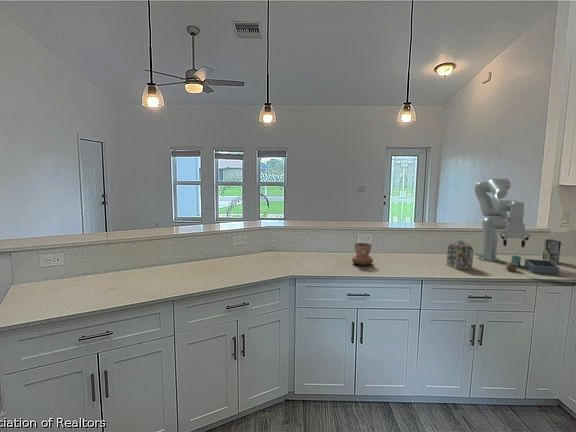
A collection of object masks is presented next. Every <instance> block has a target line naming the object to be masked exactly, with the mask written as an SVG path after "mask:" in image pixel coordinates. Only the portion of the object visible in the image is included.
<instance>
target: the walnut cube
mask: <svg viewBox="0 0 576 432" xmlns="http://www.w3.org/2000/svg"><path fill="white" fill-rule="evenodd" d="M505 267H506V268H505V270H506V271H507V272H508V273H509V272H511V273H517V272H518V268H517V264H516V263H511V261H510V262H509V261H507V262H506V266H505Z"/></svg>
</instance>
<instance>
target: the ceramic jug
mask: <svg viewBox="0 0 576 432" xmlns="http://www.w3.org/2000/svg"><path fill="white" fill-rule="evenodd" d="M372 247H373V245H372V244H369V243H365V242H355V243H354V250H355V251H354V252H355V253H356V254H355V255H354V256H352V258H351V261H352V263H354V264H355V265H357V264H358V266H369V265H372V264H373V262H374V259H373V258H372V257H371V255H370V253H371V250H372Z"/></svg>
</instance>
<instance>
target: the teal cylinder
mask: <svg viewBox="0 0 576 432" xmlns="http://www.w3.org/2000/svg"><path fill="white" fill-rule="evenodd" d="M521 258H522V257H521V256H520V255H511V261H510V263H516V264H517V267H519V268H520V267H521Z"/></svg>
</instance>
